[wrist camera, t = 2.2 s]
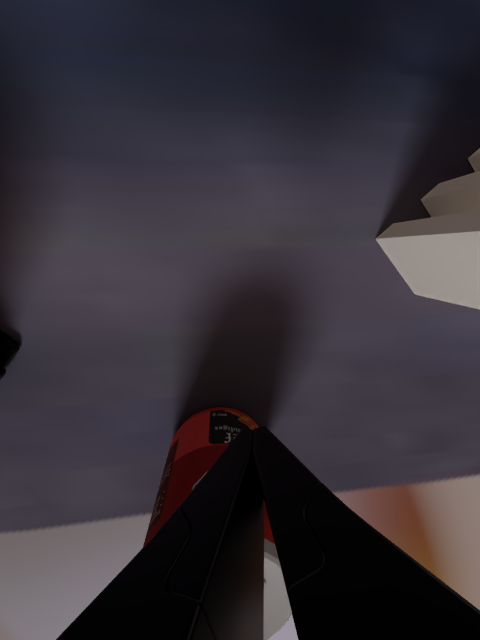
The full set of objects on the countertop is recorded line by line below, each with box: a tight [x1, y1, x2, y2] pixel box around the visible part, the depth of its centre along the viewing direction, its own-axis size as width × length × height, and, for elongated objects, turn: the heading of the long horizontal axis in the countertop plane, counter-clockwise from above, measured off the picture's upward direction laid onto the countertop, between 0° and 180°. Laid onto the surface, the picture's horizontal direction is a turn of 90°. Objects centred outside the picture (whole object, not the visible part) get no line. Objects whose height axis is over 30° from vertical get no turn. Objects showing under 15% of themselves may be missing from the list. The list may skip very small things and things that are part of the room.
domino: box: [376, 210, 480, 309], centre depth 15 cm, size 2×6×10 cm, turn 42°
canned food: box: [143, 407, 292, 640], centre depth 18 cm, size 8×8×11 cm
